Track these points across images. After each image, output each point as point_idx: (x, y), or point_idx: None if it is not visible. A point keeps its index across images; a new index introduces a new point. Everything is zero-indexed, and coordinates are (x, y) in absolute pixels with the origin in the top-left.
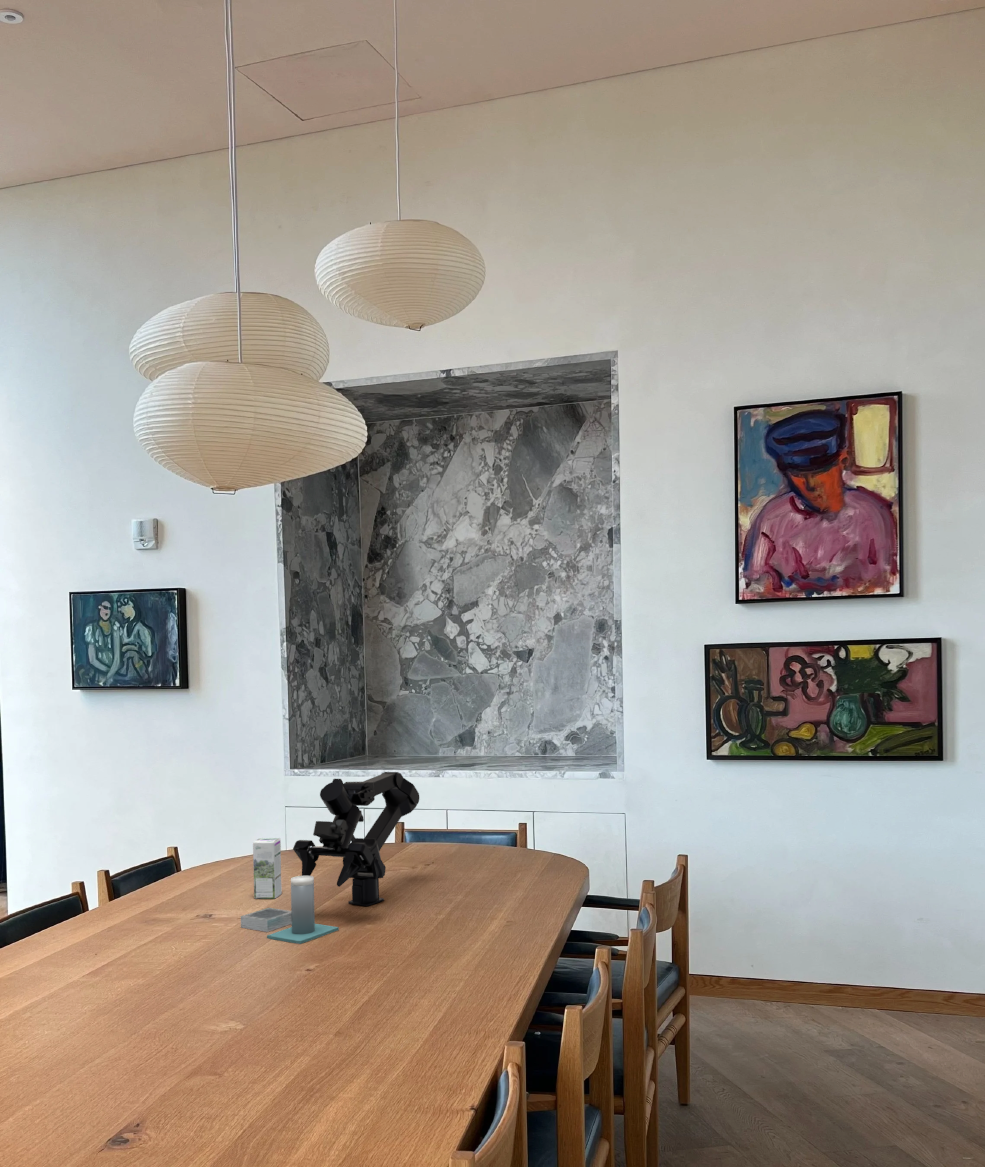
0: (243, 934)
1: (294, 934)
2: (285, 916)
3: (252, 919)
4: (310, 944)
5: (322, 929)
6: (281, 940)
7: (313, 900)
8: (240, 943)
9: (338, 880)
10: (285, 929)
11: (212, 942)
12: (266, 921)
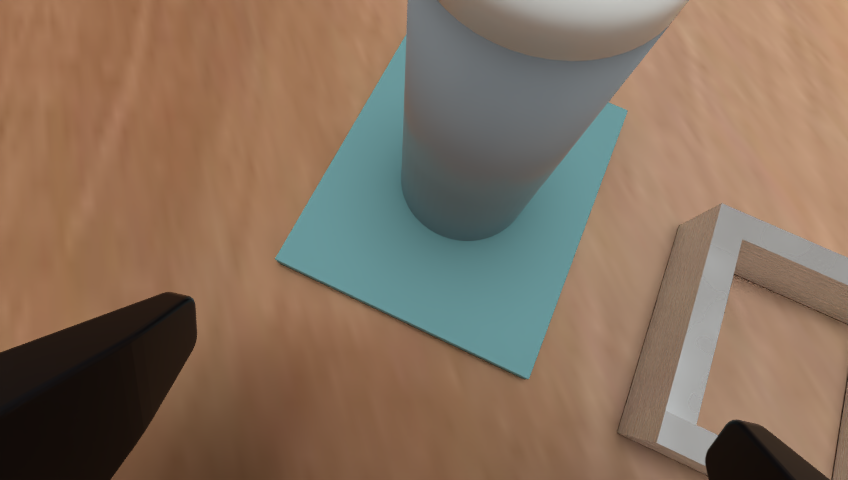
0: (780, 185)
1: None
2: (674, 349)
3: (842, 261)
4: (363, 27)
5: (363, 213)
6: None
7: (405, 69)
8: (701, 49)
9: (142, 311)
10: (583, 216)
11: (838, 66)
12: (723, 208)
